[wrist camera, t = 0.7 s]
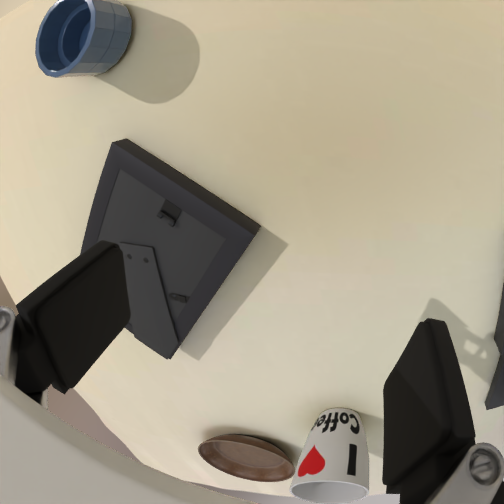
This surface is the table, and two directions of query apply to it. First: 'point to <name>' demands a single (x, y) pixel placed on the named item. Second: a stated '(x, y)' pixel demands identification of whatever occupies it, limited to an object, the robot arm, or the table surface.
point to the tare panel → (496, 387)
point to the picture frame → (165, 242)
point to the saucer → (247, 458)
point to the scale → (500, 327)
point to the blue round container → (82, 37)
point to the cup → (333, 460)
